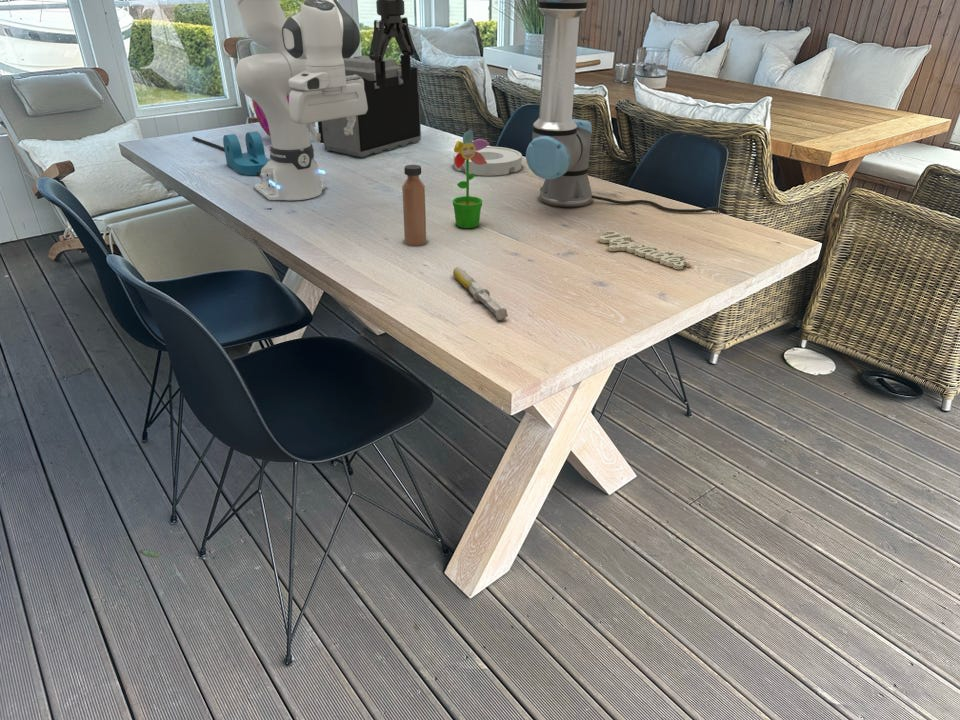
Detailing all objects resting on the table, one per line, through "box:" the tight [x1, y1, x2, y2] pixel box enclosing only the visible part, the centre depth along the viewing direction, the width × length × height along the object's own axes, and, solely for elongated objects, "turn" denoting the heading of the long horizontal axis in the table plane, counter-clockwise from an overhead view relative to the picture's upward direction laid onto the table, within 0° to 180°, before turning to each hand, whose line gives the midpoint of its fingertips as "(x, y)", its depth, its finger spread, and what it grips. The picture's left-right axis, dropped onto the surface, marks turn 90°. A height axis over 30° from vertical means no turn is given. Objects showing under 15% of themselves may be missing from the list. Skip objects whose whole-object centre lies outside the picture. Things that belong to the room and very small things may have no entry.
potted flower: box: [452, 129, 491, 229], centre depth 177 cm, size 9×8×25 cm
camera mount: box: [222, 131, 270, 176], centre depth 226 cm, size 18×10×10 cm, turn 35°
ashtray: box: [453, 145, 523, 177], centre depth 234 cm, size 23×23×4 cm
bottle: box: [401, 175, 427, 247], centre depth 168 cm, size 5×5×18 cm
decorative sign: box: [599, 230, 690, 270], centre depth 167 cm, size 26×1×10 cm
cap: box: [403, 164, 422, 176], centre depth 163 cm, size 4×4×2 cm
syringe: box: [452, 266, 509, 321], centre depth 145 cm, size 25×4×3 cm, turn 21°
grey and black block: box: [317, 55, 422, 159], centre depth 250 cm, size 37×22×30 cm, turn 144°
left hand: (333, 138), depth 169 cm, fingers open, 8 cm apart
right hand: (394, 83), depth 195 cm, fingers open, 13 cm apart
